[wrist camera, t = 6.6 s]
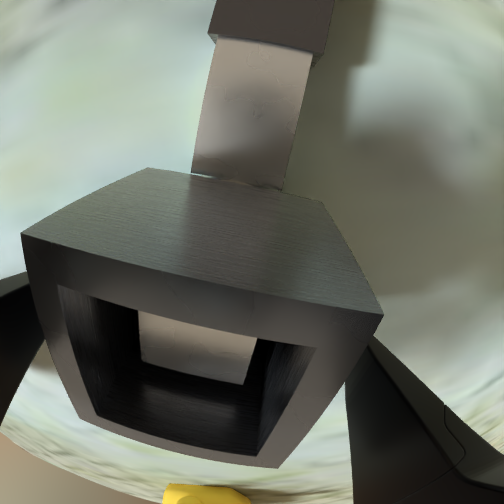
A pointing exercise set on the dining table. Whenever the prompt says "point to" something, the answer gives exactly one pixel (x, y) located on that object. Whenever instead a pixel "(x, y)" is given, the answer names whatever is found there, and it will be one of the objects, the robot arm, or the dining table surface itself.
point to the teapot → (202, 495)
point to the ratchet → (243, 146)
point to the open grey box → (200, 310)
